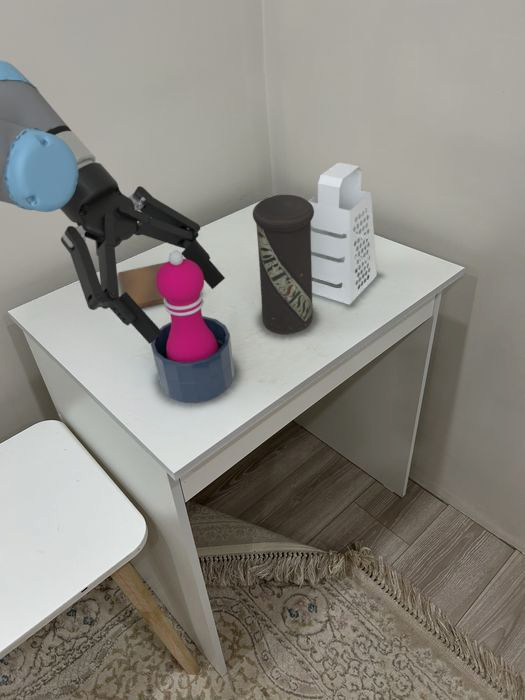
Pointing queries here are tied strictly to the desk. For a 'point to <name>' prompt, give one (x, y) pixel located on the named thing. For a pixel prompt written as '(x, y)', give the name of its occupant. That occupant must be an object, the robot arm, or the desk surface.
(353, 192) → the grater
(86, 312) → the desk surface
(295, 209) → the container
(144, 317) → the robot arm
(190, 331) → the pepper mill
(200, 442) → the desk surface
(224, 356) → the pot
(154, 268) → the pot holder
